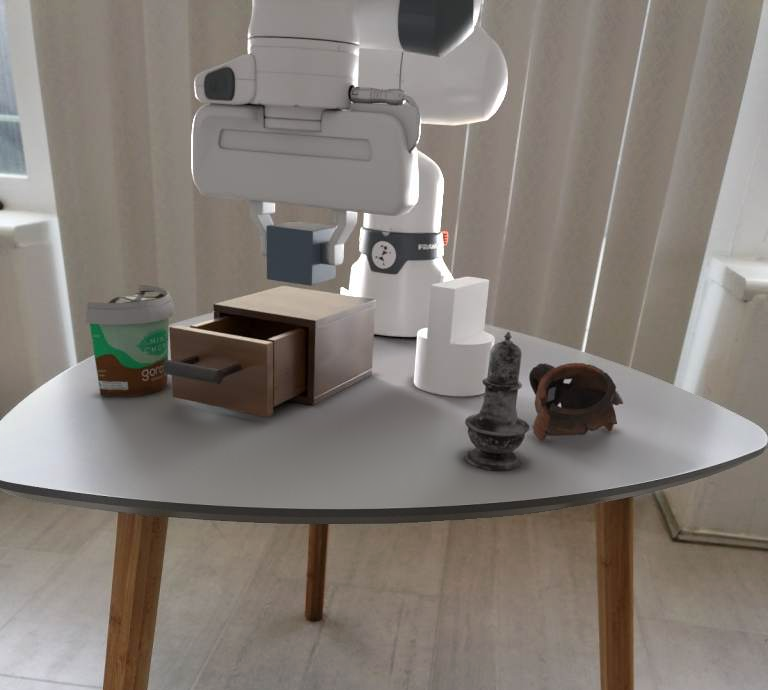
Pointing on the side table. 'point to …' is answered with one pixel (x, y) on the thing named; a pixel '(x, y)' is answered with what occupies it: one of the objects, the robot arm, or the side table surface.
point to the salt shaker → (498, 412)
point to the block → (298, 253)
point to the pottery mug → (572, 399)
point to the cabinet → (318, 333)
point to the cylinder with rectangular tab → (454, 339)
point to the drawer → (238, 363)
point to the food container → (131, 341)
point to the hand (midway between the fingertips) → (301, 260)
